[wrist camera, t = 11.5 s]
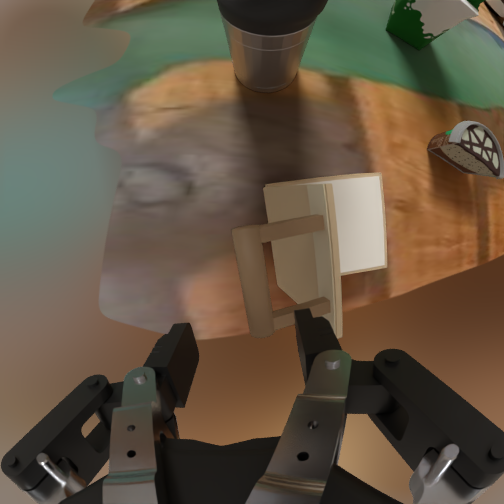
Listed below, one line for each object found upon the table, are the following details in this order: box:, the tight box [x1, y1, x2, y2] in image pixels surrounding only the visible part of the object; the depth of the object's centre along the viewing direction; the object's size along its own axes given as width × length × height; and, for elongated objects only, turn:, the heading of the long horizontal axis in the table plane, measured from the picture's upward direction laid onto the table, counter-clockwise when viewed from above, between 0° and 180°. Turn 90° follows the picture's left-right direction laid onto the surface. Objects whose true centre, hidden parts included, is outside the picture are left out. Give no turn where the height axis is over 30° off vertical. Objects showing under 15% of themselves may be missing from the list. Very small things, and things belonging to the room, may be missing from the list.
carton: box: [265, 173, 387, 276], centre depth 35 cm, size 12×14×8 cm
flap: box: [231, 184, 342, 339], centre depth 24 cm, size 12×14×7 cm
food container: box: [427, 121, 504, 179], centre depth 30 cm, size 12×6×10 cm, turn 73°
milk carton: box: [386, 0, 485, 50], centre depth 20 cm, size 9×9×20 cm
